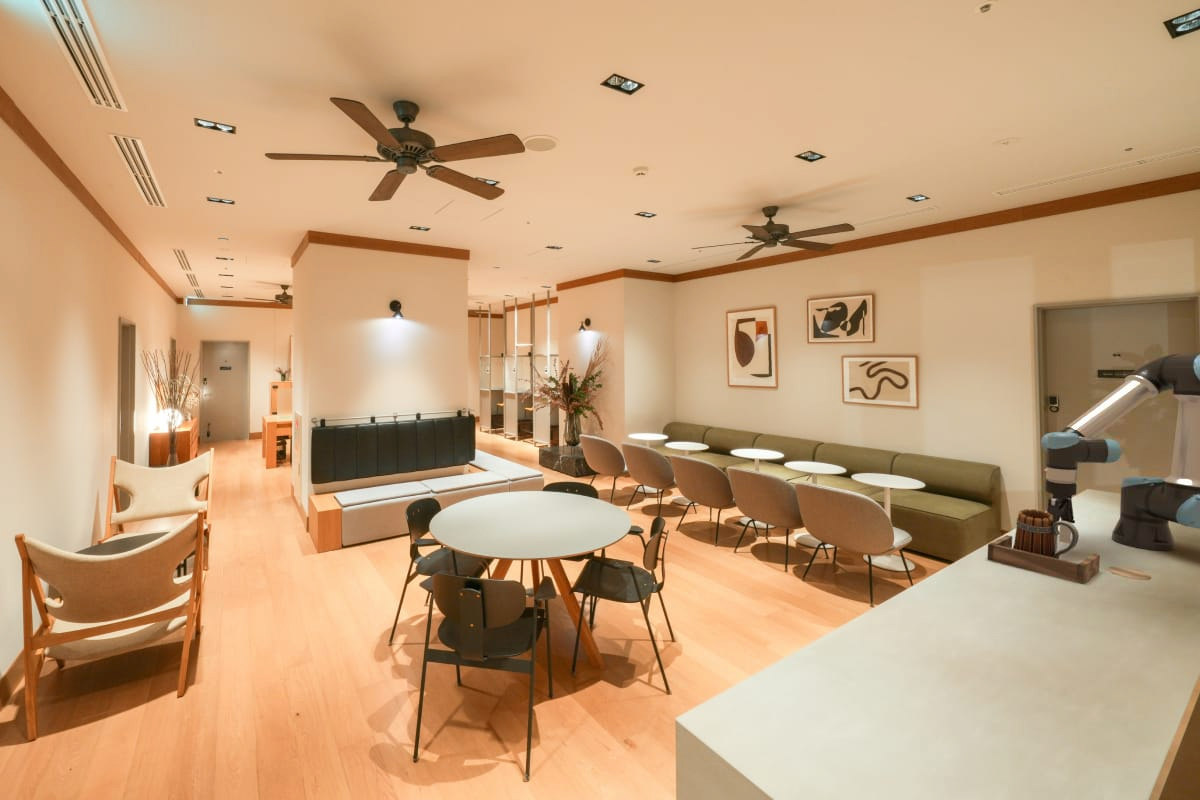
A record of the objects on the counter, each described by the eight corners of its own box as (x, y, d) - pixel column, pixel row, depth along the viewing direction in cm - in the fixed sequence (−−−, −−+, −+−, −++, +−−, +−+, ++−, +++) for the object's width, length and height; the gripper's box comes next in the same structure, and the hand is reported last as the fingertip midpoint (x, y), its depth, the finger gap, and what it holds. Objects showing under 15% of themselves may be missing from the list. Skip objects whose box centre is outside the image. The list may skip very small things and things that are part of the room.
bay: (1006, 549, 177) (1006, 535, 177) (1099, 571, 158) (1099, 554, 158) (987, 559, 168) (988, 544, 168) (1083, 583, 149) (1084, 566, 149)
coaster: (1111, 566, 163) (1112, 564, 163) (1153, 576, 155) (1154, 573, 155) (1104, 573, 157) (1104, 570, 157) (1147, 583, 150) (1147, 580, 150)
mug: (1005, 558, 168) (1007, 513, 166) (1022, 548, 173) (1024, 504, 170) (1066, 577, 155) (1069, 529, 152) (1083, 566, 160) (1086, 519, 157)
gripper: (1058, 474, 180) (1055, 536, 181) (1032, 484, 166) (1030, 551, 167) (1087, 478, 174) (1084, 541, 175) (1063, 488, 159) (1060, 558, 161)
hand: (1058, 546), depth 171 cm, fingers open, 13 cm apart
